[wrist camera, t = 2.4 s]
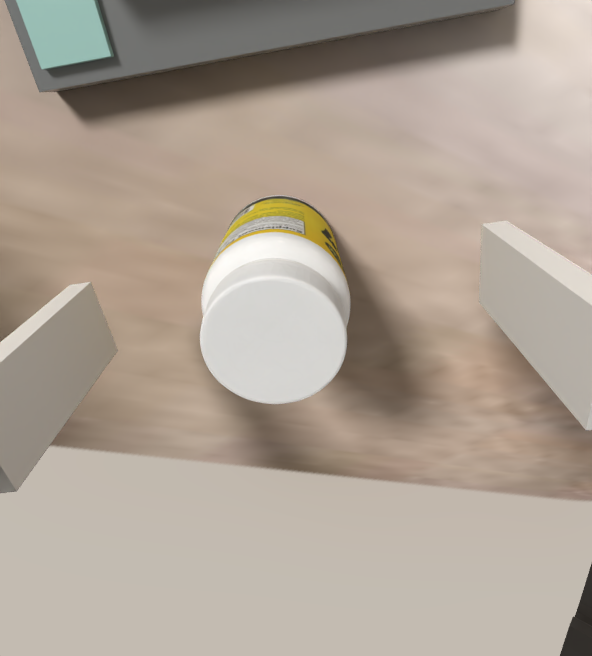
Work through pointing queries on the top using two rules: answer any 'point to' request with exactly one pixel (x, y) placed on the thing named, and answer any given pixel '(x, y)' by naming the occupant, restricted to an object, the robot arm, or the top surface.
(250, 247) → the supplement bottle
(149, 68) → the dock
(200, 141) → the top surface
